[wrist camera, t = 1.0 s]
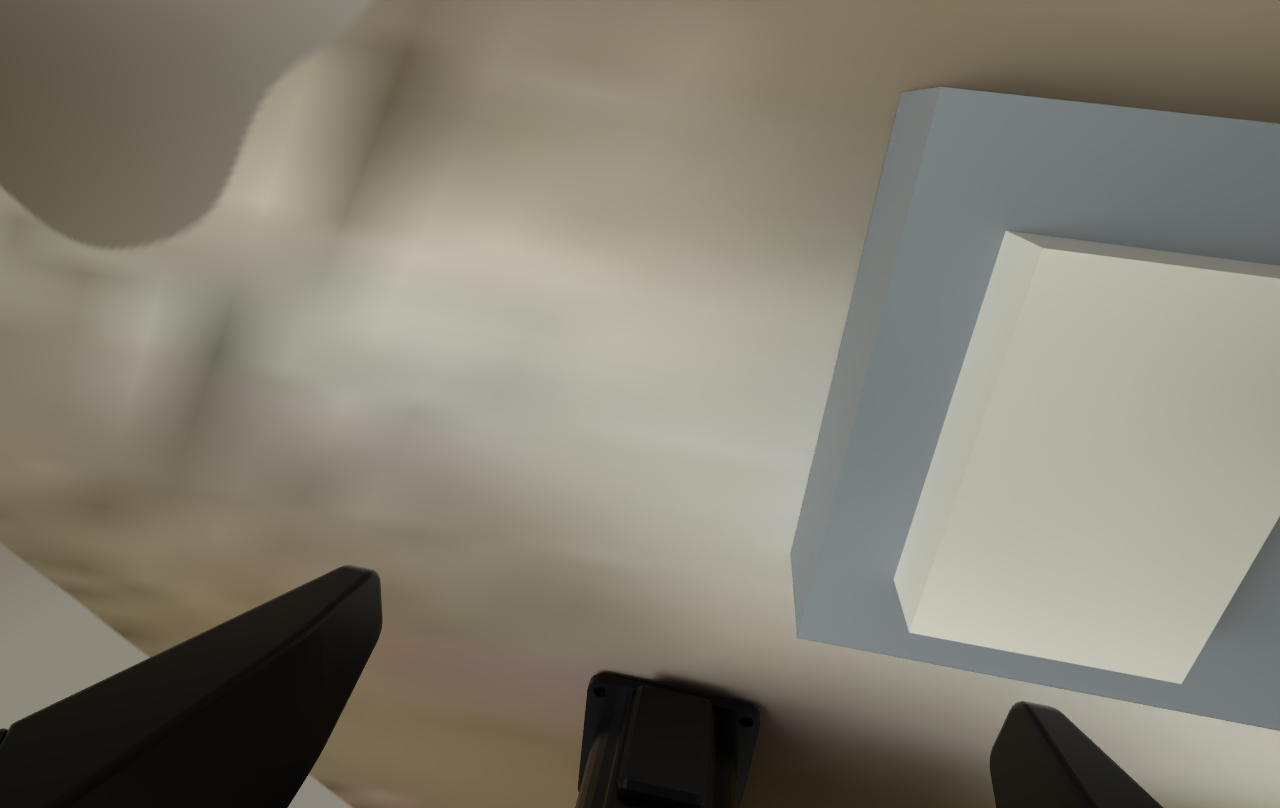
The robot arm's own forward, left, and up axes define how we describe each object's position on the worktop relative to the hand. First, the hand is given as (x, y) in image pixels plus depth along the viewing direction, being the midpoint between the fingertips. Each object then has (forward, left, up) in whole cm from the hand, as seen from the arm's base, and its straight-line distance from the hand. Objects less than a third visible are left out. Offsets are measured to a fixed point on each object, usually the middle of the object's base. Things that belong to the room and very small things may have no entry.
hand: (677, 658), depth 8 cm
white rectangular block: (0, -8, -9) cm, 12 cm away
